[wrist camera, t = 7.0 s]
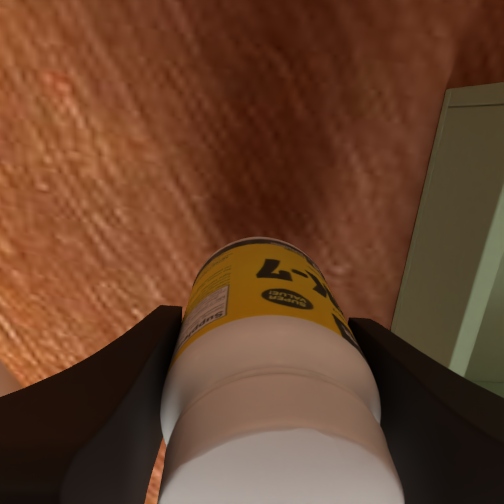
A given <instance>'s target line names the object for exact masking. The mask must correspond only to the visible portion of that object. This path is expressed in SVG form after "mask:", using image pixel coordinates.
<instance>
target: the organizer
mask: <svg viewBox="0 0 504 504" xmlns="http://www.w3.org/2000/svg"><path fill="white" fill-rule="evenodd" d="M390 331H391V332H393V333H394V334H396V335H397V336H399V337H400V338H401V339H403V340H404V341H406V342H407V343H409V344H410V345H412V346H413V347H415V348H416V349H418V350H419V351H421V352H423V353H424V354H426V355H427V356H429V357H430V358H432V359H434V360H435V361H437V362H438V363H440V364H442V365H443V366H445V367H447V368H448V369H450V370H452V371H453V372H455V373H457V374H459V375H460V376H462V377H464V378H466V379H468V380H469V381H471V382H473V383H475V384H477V385H479V386H481V387H483V388H485V389H487V390H489V391H491V392H493V393H495V394H497V395H499V396H501V397H503V398H504V82H500V83H492V84H484V85H476V86H468V87H460V88H451V89H447V90H446V93H445V97H444V101H443V106H442V110H441V114H440V119H439V123H438V127H437V132H436V136H435V140H434V145H433V149H432V153H431V158H430V162H429V166H428V170H427V175H426V179H425V183H424V188H423V192H422V196H421V201H420V205H419V209H418V214H417V218H416V222H415V227H414V231H413V235H412V240H411V244H410V248H409V252H408V257H407V261H406V265H405V270H404V274H403V278H402V283H401V287H400V291H399V296H398V300H397V304H396V309H395V313H394V317H393V322H392V326H391V330H390Z"/></svg>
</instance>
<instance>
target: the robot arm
mask: <svg viewBox="0 0 504 504" xmlns="http://www.w3.org/2000/svg"><path fill="white" fill-rule="evenodd" d="M181 325H182V307H181V306H166V305H160V306H159V307H157V308H156V309H155V310H154V311H152V312H151V313H150V314H149V315H147V316H146V317H145V318H144V319H143V320H141V321H140V322H139V323H138V324H136V325H135V326H134V327H132V328H131V329H130V330H129V331H127V332H126V333H125V334H123V335H122V336H120V337H119V338H117V339H116V340H114V341H113V342H112V343H110V344H109V345H107V346H106V347H104V348H103V349H101V350H100V351H98V352H96V353H95V354H93V355H92V356H90V357H88V358H86V359H85V360H83V361H81V362H79V363H77V364H75V365H73V366H72V367H70V368H68V369H66V370H64V371H62V372H60V373H58V374H55V375H53V376H51V377H48V378H46V379H44V380H42V381H39V382H37V383H35V384H33V385H30V386H28V387H26V388H23V389H21V390H18V391H16V392H13V393H10V394H8V395H5V396H2V397H0V504H144V503H145V498H146V493H147V489H148V485H149V481H150V478H151V474H152V470H153V467H154V464H155V461H156V458H157V454H158V451H159V448H160V445H161V441H162V438H163V433H162V427H161V419H160V408H161V398H162V391H163V387H164V383H165V379H166V376H167V372H168V369H169V365H170V362H171V359H172V356H173V352H174V349H175V345H176V342H177V338H178V335H179V332H180V328H181ZM348 326H349V328H350V330H351V332H352V334H353V336H354V338H355V340H356V341H357V343H358V344H359V346H360V348H361V351H362V353H363V354H364V356H365V358H366V359H367V361H368V364H369V366H370V369H371V371H372V373H373V376H374V379H375V382H376V384H377V387H378V391H379V396H380V404H381V420H380V426H381V428H382V430H383V433H384V435H385V438H386V442H387V446H388V449H389V452H390V455H391V457H392V460H393V463H394V465H395V468H396V471H397V473H398V476H399V479H400V481H401V484H402V488H403V492H404V500H405V504H504V398H503V397H501V396H499V395H497V394H495V393H493V392H491V391H489V390H487V389H485V388H483V387H481V386H479V385H477V384H475V383H473V382H471V381H469V380H468V379H466V378H464V377H462V376H460V375H459V374H457V373H455V372H453V371H452V370H450V369H448V368H447V367H445V366H443V365H442V364H440V363H438V362H437V361H435V360H434V359H432V358H430V357H429V356H427V355H426V354H424V353H423V352H421V351H419V350H418V349H416V348H415V347H413V346H412V345H410V344H409V343H407V342H406V341H404V340H403V339H401V338H400V337H399V336H397V335H396V334H394V333H393V332H391V331H390V330H388V329H386V328H385V327H383V326H382V325H380V324H379V323H377V322H375V321H373V320H371V319H365V318H350V317H349V320H348Z"/></svg>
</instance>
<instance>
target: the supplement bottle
mask: <svg viewBox="0 0 504 504" xmlns="http://www.w3.org/2000/svg"><path fill="white" fill-rule="evenodd" d="M160 419H161V427H162V433H163V436H164V440H165V443H166V446H167V447H166V453H165V460H164V469H163V474H162V479H161V485H160V490H159V496H158V502H157V504H405V500H404V492H403V488H402V484H401V481H400V479H399V476H398V473H397V471H396V468H395V465H394V463H393V460H392V457H391V455H390V452H389V449H388V446H387V442H386V438H385V435H384V433H383V430H382V428H381V426H380V420H381V404H380V396H379V391H378V387H377V384H376V382H375V379H374V376H373V373H372V371H371V369H370V366H369V364H368V361H367V359H366V358H365V356H364V354H363V353H362V351H361V348H360V346H359V344H358V343H357V341H356V340H355V338H354V336H353V334H352V332H351V330H350V328H349V326H348V324H347V322H346V320H345V318H344V316H343V313H342V311H341V310H340V308H339V306H338V305H337V303H336V301H335V299H334V297H333V295H332V293H331V291H330V289H329V287H328V285H327V283H326V281H325V279H324V277H323V275H322V273H321V272H320V270H319V268H318V267H317V265H316V264H315V263H314V262H313V260H312V259H311V258H310V257H309V256H308V255H307V254H306V253H304V252H303V251H302V250H300V249H299V248H297V247H295V246H293V245H291V244H289V243H287V242H285V241H282V240H279V239H275V238H269V237H249V238H244V239H240V240H237V241H234V242H231V243H229V244H227V245H225V246H224V247H222V248H220V249H219V250H217V251H216V252H215V253H214V254H212V255H211V256H210V257H209V258H208V260H207V261H206V262H205V263H204V264H203V266H202V267H201V269H200V271H199V272H198V274H197V277H196V279H195V282H194V284H193V288H192V292H191V295H190V298H189V301H188V305H187V308H186V311H185V315H184V318H183V321H182V325H181V328H180V332H179V335H178V338H177V342H176V345H175V349H174V352H173V356H172V359H171V362H170V365H169V369H168V372H167V376H166V379H165V383H164V387H163V391H162V398H161V408H160Z"/></svg>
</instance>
